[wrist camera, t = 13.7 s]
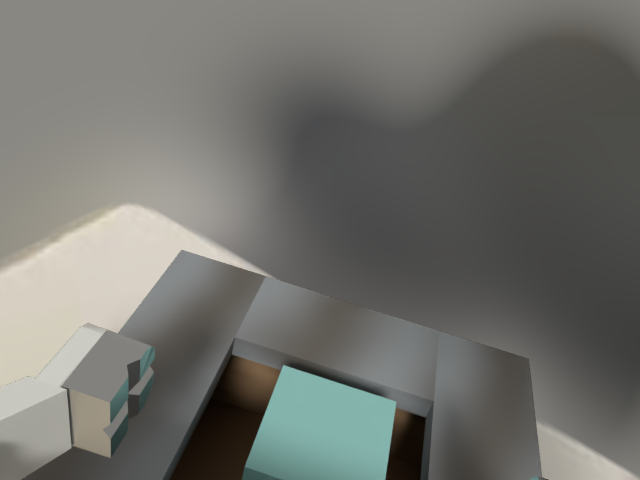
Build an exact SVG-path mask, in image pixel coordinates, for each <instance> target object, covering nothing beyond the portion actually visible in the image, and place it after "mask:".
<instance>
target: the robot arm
mask: <svg viewBox="0 0 640 480" xmlns="http://www.w3.org/2000/svg"><path fill="white" fill-rule="evenodd" d="M154 359H155V347H153V346H150V345H147V344H145V343H142V342H139V341H136V340H134V339H131V338H128V337H126V336H123V335H120V334H118V333H115V332H112V331H109V330H107V329H104V328H101V327H98V326H95V325H92V324H89V323H87V324H85V325H83V326H82V327H80V328H79V329H78V330H77V331H76V332H75V334H74V335H73V336H72V337H71V338H70V339H69V340H68V342H67V343H66V344H65V345H64V346H63V347H62V348H61V349H60V351H59V352H58V353H57V354H56V355H55V356H54V357H53V359H52V360H51V361H50V362H49V363H48V364H47V365H46V366H45V368H44V369H43V370H42V371H41V372H40V373H39V374H38V376H37V377H36V378H34V377H30V376H27V377H25V378H23V379H20V380H18V381H15V382H13V383H10V384H8V385H6V386H3V387H1V388H0V480H21V479H22V478H24V477H26V476H27V475H29V474H31V473H32V472H34V471H35V470H37V469H39V468H40V467H42V466H43V465H45V464H47V463H48V462H50V461H52V460H53V459H55V458H56V457H58V456H60V455H61V454H63V453H64V452H66V451H68V450H69V449H71V448H72V446H75V447H78V448H81V449H84V450H87V451H90V452H93V453H97V454H100V455H103V456H106V457H109V458H111V457H112V455H113V454H114V452H115V451H116V449H117V448H118V446H119V444H120V443H121V441H122V440H123V438H124V437H125V435H126V433H127V432H128V419H130V418H132V417H134V416H136V415H138V414H139V413H140V411H141V409H142V408H143V406H144V404H145V403H146V400H147V398H148V396H149V393H150V391H151V388H152V384H153V380H154V371H153V370H152V368H151V367H150V365H151V363H152V362H153V360H154ZM530 480H548V479H545V478H542V477H539V476H535V477H533V478H531V479H530Z"/></svg>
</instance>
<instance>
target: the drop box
mask: <svg viewBox="0 0 640 480" xmlns="http://www.w3.org/2000/svg"><path fill="white" fill-rule="evenodd" d="M118 334H120V335H123V336H126V337H128V338H131V339H134V340H136V341H139V342H142V343H145V344H147V345H150V346H153V347H155V359H154V360H153V362H152V363H151V365H150V367H151V368H152V370H153V371H154V380H153V384H152V388H151V391H150V393H149V396H148V398H147V400H146V403H145V404H144V406H143V408H142V409H141V411H140V413H139V414H138V415H136V416H134V417H132V418H130V419H128V432H127V433H126V435H125V437H124V438H123V440H122V441H121V443H120V444H119V446H118V448H117V449H116V451H115V452H114V454H113V455H112V457H111V458H109V457H106V456H103V455H100V454H97V453H93V452H90V451H87V450H84V449H81V448H78V447H75V446H72V448H71V449H69V450H68V451H66V452H64V453H63V454H61V455H60V456H58V457H56V458H55V459H53V460H52V461H50V462H48V463H47V464H45V465H43V466H42V467H40V468H39V469H37V470H35V471H34V472H32V473H31V474H29V475H27V476H26V477H24V478H22V479H21V480H242V476H243V472H244V467H245V465H246V462H247V459H248V457H249V454H250V451H251V449H252V446H253V444H254V441H255V438H256V436H257V433H258V430H259V428H260V425H261V423H262V420H263V417H264V415H265V412H266V409H267V407H268V404H269V402H270V399H271V396H272V394H273V391H274V388H275V386H276V383H277V380H278V378H279V375H280V373H281V370H282V367H283V365H285V366H288V367H291V368H294V369H297V370H300V371H303V372H306V373H309V374H312V375H315V376H319V377H322V378H325V379H328V380H331V381H334V382H337V383H340V384H343V385H346V386H349V387H353V388H356V389H359V390H362V391H365V392H368V393H371V394H374V395H377V396H380V397H383V398H386V399H390V400H393V401H396V408H395V415H394V422H393V429H392V436H391V443H390V450H389V457H388V464H387V471H386V478H385V480H530V479H531V478H533V477H535V476H539V477H542V472H541V463H540V454H539V445H538V436H537V428H536V419H535V410H534V401H533V392H532V383H531V374H530V365H529V359H527V358H524V357H521V356H518V355H515V354H512V353H508V352H505V351H502V350H499V349H496V348H493V347H489V346H486V345H483V344H480V343H477V342H473V341H470V340H467V339H464V338H461V337H458V336H454V335H451V334H448V333H445V332H442V331H438V330H435V329H432V328H429V327H426V326H422V325H419V324H416V323H413V322H410V321H407V320H403V319H400V318H397V317H394V316H391V315H388V314H384V313H381V312H378V311H375V310H372V309H368V308H365V307H362V306H359V305H356V304H352V303H349V302H346V301H343V300H340V299H336V298H333V297H330V296H327V295H324V294H321V293H317V292H314V291H311V290H308V289H305V288H302V287H298V286H295V285H292V284H289V283H286V282H282V281H279V280H276V279H273V278H270V277H267V276H263V275H260V274H257V273H254V272H251V271H247V270H244V269H241V268H238V267H235V266H232V265H228V264H225V263H222V262H219V261H216V260H212V259H209V258H206V257H203V256H200V255H197V254H193V253H190V252H187V251H184V250H181V251H180V253H179V254H178V255H177V257H176V258H175V259H174V261H173V262H172V263H171V265H170V266H169V267H168V268H167V270H166V271H165V272H164V274H163V275H162V276H161V278H160V279H159V280H158V282H157V283H156V284H155V286H154V287H153V288H152V289H151V291H150V292H149V293H148V295H147V296H146V297H145V299H144V300H143V301H142V303H141V304H140V305H139V307H138V308H137V309H136V310H135V312H134V313H133V314H132V316H131V317H130V318H129V320H128V321H127V322H126V324H125V325H124V326H123V328H122V329H121V330H120V331H119V333H118Z"/></svg>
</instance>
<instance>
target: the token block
mask: <svg viewBox="0 0 640 480" xmlns="http://www.w3.org/2000/svg"><path fill="white" fill-rule="evenodd" d="M395 408H396V401H393V400H390V399H386V398H383V397H380V396H377V395H374V394H371V393H368V392H365V391H362V390H359V389H356V388H353V387H349V386H346V385H343V384H340V383H337V382H334V381H331V380H328V379H325V378H322V377H319V376H315V375H312V374H309V373H306V372H303V371H300V370H297V369H294V368H291V367H288V366H285V365H283V367H282V370H281V373H280V375H279V378H278V380H277V383H276V386H275V388H274V391H273V394H272V396H271V399H270V402H269V404H268V407H267V409H266V412H265V415H264V417H263V420H262V423H261V425H260V428H259V430H258V433H257V436H256V438H255V441H254V444H253V446H252V449H251V451H250V454H249V457H248V459H247V462H246V465H245V467H244V472H243V476H242V480H385V478H386V471H387V464H388V457H389V450H390V443H391V436H392V429H393V422H394V415H395Z"/></svg>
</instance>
